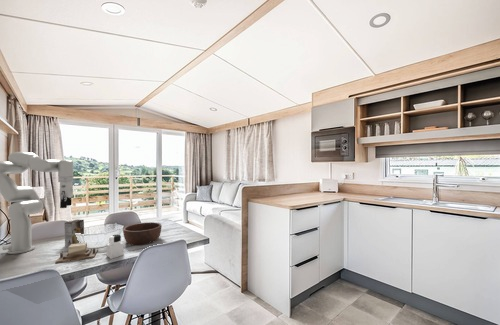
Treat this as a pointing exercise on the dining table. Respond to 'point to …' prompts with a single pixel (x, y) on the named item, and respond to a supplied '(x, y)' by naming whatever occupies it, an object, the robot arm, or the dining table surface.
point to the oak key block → (77, 249)
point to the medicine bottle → (114, 247)
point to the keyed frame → (76, 256)
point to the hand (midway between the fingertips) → (65, 206)
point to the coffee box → (73, 231)
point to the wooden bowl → (142, 233)
